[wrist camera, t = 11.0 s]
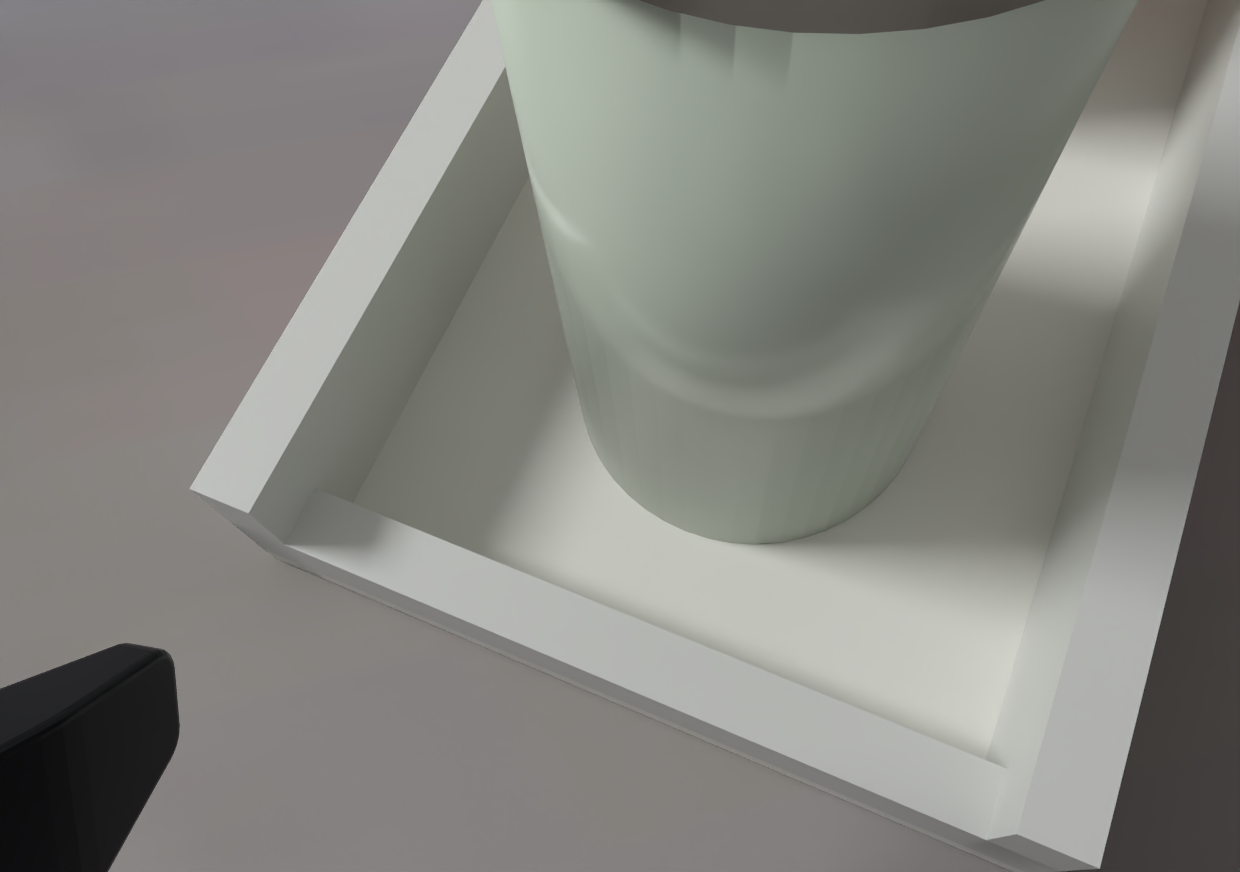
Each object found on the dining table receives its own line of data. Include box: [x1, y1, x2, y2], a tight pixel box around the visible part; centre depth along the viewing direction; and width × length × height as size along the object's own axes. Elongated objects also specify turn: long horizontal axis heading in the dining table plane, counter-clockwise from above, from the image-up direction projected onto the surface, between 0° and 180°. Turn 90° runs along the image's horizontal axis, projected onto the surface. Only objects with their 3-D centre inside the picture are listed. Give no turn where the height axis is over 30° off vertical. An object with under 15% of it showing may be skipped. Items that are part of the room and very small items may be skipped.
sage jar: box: [491, 0, 1138, 544], centre depth 13 cm, size 6×6×13 cm
